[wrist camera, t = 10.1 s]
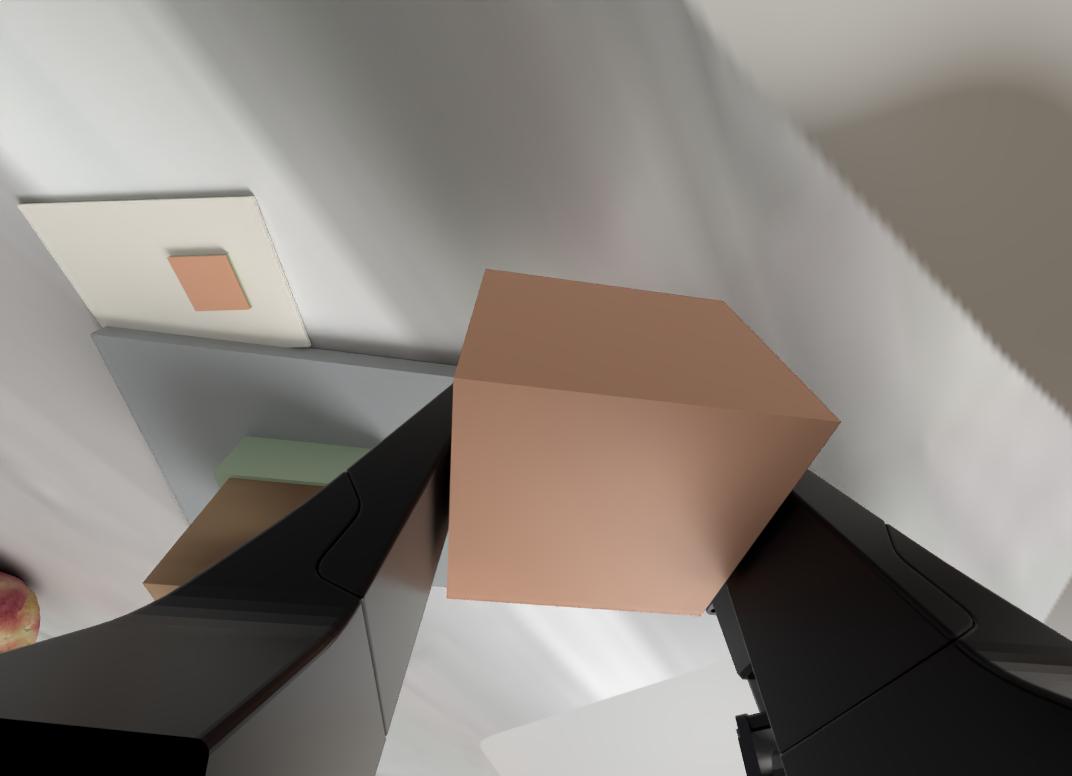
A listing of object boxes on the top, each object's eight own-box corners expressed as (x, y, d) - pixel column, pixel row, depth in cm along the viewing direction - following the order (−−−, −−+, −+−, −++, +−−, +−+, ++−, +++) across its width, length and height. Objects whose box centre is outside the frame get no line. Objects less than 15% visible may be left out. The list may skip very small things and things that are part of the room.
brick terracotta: (723, 301, 9) (841, 421, 5) (652, 468, 11) (700, 615, 8) (485, 268, 8) (454, 377, 5) (472, 451, 11) (446, 598, 8)
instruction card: (254, 195, 12) (246, 198, 12) (311, 344, 15) (306, 350, 15) (21, 203, 12) (7, 206, 12) (122, 350, 15) (113, 355, 15)
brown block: (370, 490, 15) (324, 596, 12) (379, 566, 18) (345, 669, 15) (229, 477, 15) (142, 583, 12) (261, 557, 18) (199, 661, 14)
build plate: (504, 371, 16) (500, 417, 13) (480, 575, 23) (474, 627, 21) (110, 324, 14) (30, 365, 12) (223, 556, 22) (187, 607, 20)
